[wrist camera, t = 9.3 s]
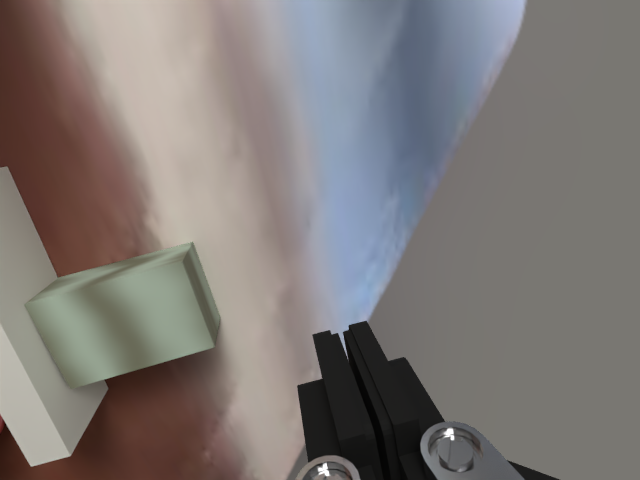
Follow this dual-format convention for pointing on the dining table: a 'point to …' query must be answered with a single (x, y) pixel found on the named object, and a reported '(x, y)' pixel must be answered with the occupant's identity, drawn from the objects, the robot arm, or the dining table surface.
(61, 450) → the board
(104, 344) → the block
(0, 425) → the plant pot
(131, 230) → the dining table surface
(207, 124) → the dining table surface
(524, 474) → the robot arm
